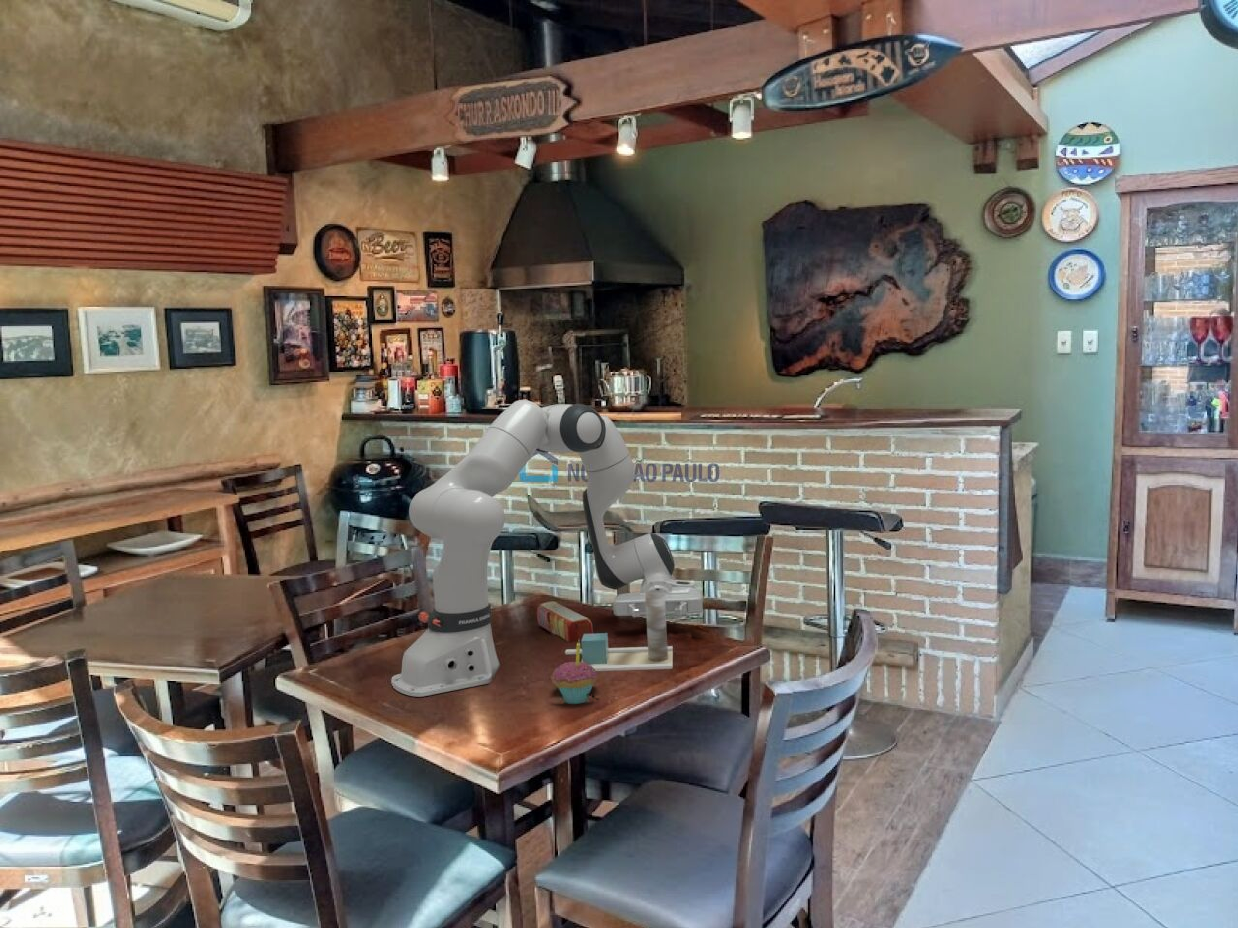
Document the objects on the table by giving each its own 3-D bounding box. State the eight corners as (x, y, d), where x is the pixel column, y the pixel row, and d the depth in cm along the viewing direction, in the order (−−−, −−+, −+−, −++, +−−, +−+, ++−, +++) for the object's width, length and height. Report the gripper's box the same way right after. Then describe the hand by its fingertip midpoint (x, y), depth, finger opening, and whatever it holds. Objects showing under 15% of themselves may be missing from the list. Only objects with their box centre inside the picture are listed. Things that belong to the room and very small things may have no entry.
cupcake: (607, 697, 172) (603, 636, 170) (574, 711, 166) (570, 647, 164) (576, 688, 178) (573, 628, 176) (543, 701, 172) (539, 639, 170)
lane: (673, 655, 195) (672, 645, 195) (672, 675, 182) (672, 665, 182) (566, 658, 196) (566, 649, 196) (558, 678, 184) (558, 669, 183)
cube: (608, 656, 192) (607, 633, 191) (607, 663, 187) (605, 640, 186) (585, 656, 192) (583, 633, 191) (582, 664, 187) (581, 640, 186)
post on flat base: (673, 656, 193) (669, 586, 191) (672, 670, 184) (669, 597, 182) (584, 659, 194) (579, 589, 193) (579, 673, 185) (575, 600, 184)
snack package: (535, 628, 222) (534, 600, 221) (561, 623, 225) (559, 596, 224) (568, 650, 203) (566, 620, 202) (595, 645, 206) (593, 616, 205)
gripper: (613, 585, 213) (609, 600, 200) (701, 582, 212) (702, 597, 198) (614, 611, 214) (610, 628, 200) (702, 608, 213) (703, 625, 199)
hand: (657, 612), depth 199 cm, fingers open, 8 cm apart
